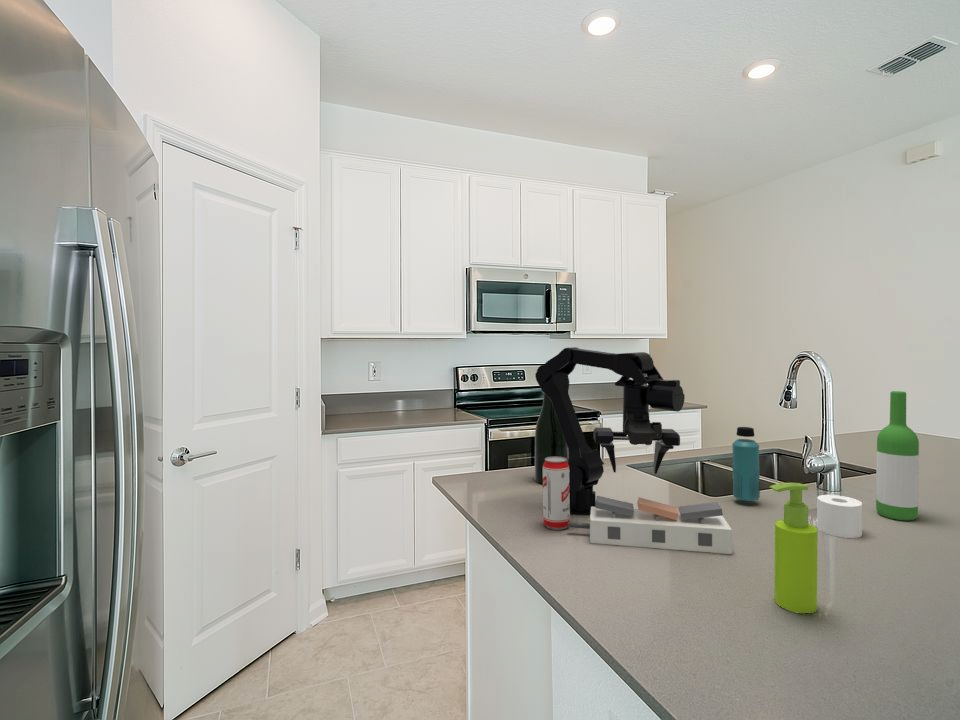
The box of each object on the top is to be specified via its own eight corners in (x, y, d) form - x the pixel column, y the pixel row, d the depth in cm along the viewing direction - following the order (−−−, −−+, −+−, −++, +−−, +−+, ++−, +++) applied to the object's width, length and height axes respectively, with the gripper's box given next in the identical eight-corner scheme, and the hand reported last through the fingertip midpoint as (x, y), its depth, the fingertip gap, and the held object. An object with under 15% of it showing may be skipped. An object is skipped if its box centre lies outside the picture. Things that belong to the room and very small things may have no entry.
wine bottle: (911, 512, 123) (913, 390, 121) (923, 523, 116) (925, 394, 114) (871, 508, 126) (873, 389, 125) (881, 519, 119) (883, 393, 118)
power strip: (566, 541, 110) (566, 514, 109) (569, 526, 118) (569, 501, 118) (731, 554, 102) (731, 525, 101) (721, 536, 110) (721, 510, 110)
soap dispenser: (760, 596, 85) (761, 480, 84) (799, 594, 86) (800, 478, 85) (784, 615, 79) (785, 490, 78) (825, 613, 80) (827, 488, 79)
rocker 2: (638, 509, 108) (639, 503, 108) (637, 503, 112) (638, 497, 112) (677, 520, 106) (678, 513, 106) (674, 513, 110) (675, 507, 110)
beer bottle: (545, 474, 163) (543, 373, 162) (574, 479, 157) (573, 374, 156) (528, 482, 155) (527, 375, 153) (559, 488, 148) (558, 376, 147)
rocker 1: (595, 507, 110) (596, 501, 110) (595, 501, 114) (596, 495, 114) (632, 516, 108) (634, 510, 108) (631, 509, 113) (632, 503, 112)
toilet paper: (835, 519, 120) (835, 490, 119) (871, 537, 108) (871, 506, 108) (800, 519, 120) (800, 491, 119) (833, 538, 109) (833, 506, 108)
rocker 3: (682, 520, 106) (681, 513, 106) (679, 512, 110) (678, 506, 110) (723, 515, 104) (721, 508, 104) (718, 508, 108) (717, 501, 108)
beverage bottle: (763, 507, 129) (764, 429, 128) (735, 506, 130) (735, 429, 129) (755, 499, 135) (755, 425, 134) (728, 498, 136) (728, 425, 135)
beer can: (572, 522, 121) (571, 456, 120) (567, 532, 115) (566, 463, 114) (546, 520, 123) (545, 455, 122) (540, 529, 117) (539, 461, 116)
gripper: (598, 411, 110) (597, 481, 111) (687, 413, 107) (686, 484, 108) (593, 403, 121) (592, 467, 122) (674, 405, 118) (673, 470, 119)
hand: (634, 472), depth 117 cm, fingers open, 9 cm apart
